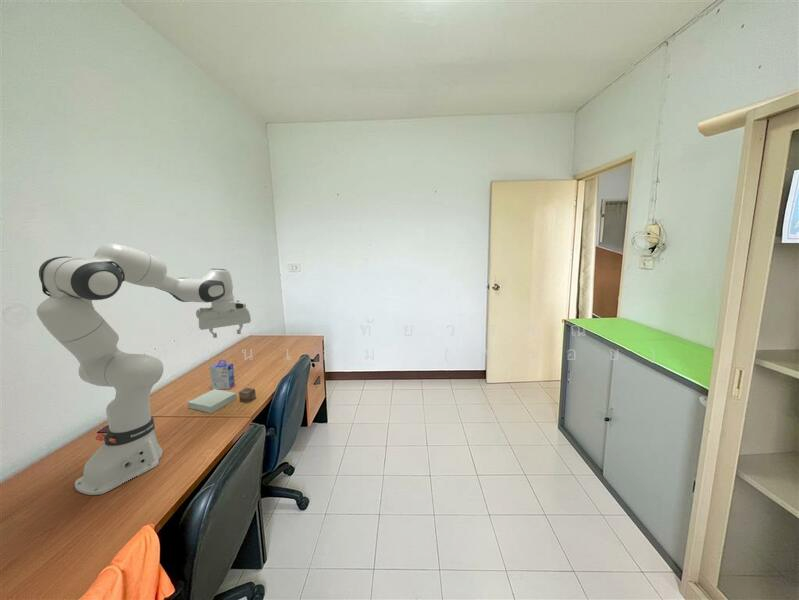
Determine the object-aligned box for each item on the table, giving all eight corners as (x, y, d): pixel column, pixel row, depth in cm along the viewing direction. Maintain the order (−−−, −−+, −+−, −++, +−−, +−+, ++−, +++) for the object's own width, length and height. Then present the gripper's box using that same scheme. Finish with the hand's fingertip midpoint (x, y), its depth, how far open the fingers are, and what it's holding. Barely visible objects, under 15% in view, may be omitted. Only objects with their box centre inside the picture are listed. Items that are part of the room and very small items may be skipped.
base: (211, 413, 140) (210, 407, 140) (188, 408, 145) (187, 402, 144) (236, 398, 154) (236, 393, 153) (214, 394, 158) (214, 388, 157)
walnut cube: (248, 403, 149) (247, 393, 149) (239, 401, 151) (238, 391, 150) (255, 398, 154) (255, 388, 153) (247, 396, 156) (247, 387, 155)
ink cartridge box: (235, 384, 169) (233, 359, 166) (230, 389, 164) (227, 363, 161) (217, 384, 169) (214, 359, 167) (211, 389, 164) (208, 363, 161)
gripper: (195, 310, 129) (200, 341, 132) (249, 303, 140) (252, 333, 143) (195, 307, 134) (199, 337, 137) (247, 301, 145) (250, 330, 148)
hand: (227, 335), depth 140 cm, fingers open, 8 cm apart
